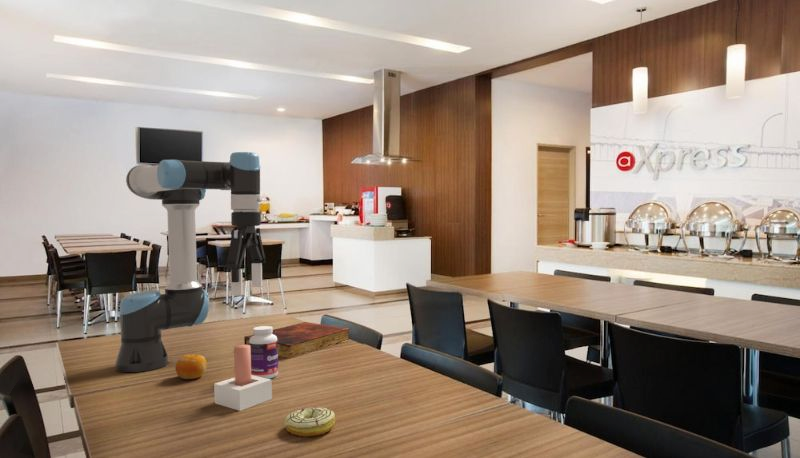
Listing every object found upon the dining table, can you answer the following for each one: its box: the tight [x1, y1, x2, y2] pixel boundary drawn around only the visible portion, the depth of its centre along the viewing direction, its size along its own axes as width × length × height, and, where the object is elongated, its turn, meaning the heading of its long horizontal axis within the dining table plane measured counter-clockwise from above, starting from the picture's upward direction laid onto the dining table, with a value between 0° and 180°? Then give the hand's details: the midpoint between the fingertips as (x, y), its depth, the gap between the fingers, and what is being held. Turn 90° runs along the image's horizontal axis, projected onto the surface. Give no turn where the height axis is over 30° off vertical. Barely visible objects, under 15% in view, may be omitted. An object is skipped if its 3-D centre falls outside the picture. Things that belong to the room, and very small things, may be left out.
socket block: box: [213, 375, 273, 412], centre depth 139 cm, size 10×10×5 cm
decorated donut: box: [284, 407, 336, 438], centre depth 120 cm, size 10×11×4 cm
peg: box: [233, 344, 251, 386], centre depth 138 cm, size 4×4×14 cm
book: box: [243, 321, 351, 359], centre depth 198 cm, size 30×24×5 cm
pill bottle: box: [249, 325, 279, 379], centre depth 159 cm, size 8×8×14 cm
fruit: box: [175, 353, 208, 380], centre depth 160 cm, size 8×8×8 cm
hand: (247, 290), depth 145 cm, fingers open, 13 cm apart
